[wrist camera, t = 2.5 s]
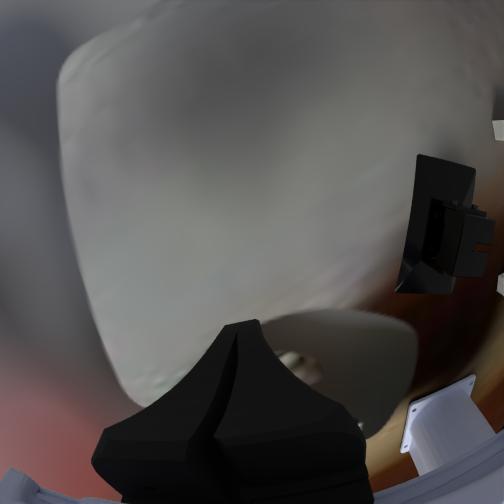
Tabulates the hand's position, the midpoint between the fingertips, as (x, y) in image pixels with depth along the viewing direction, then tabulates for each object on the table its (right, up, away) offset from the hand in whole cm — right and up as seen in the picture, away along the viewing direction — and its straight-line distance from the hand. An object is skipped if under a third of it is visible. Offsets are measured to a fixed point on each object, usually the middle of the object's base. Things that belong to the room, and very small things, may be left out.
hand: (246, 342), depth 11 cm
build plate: (+13, +5, +6) cm, 15 cm away
